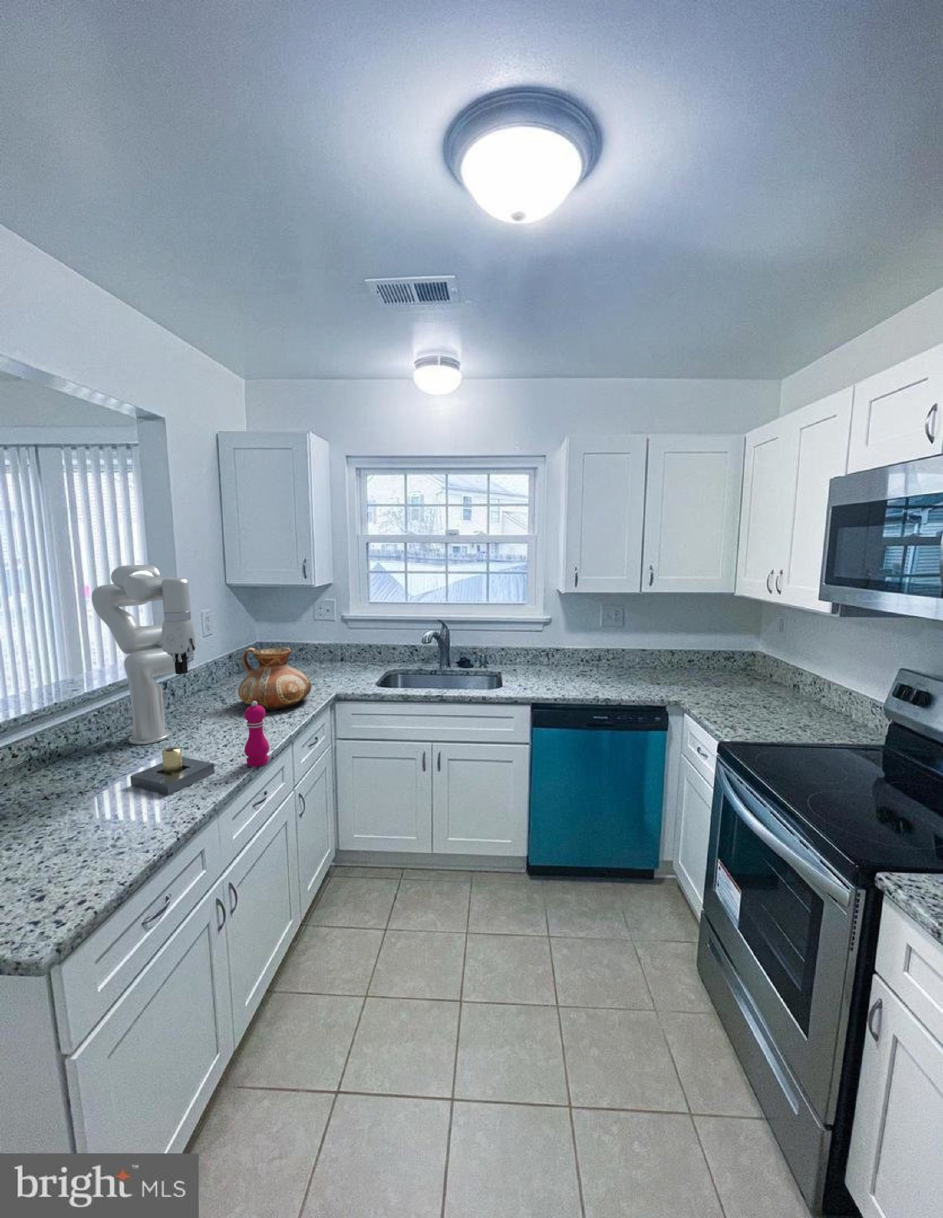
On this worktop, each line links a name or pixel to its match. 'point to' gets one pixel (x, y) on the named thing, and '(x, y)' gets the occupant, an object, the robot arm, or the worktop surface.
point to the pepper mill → (256, 736)
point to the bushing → (172, 760)
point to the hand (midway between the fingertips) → (181, 673)
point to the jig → (168, 784)
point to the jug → (273, 680)
